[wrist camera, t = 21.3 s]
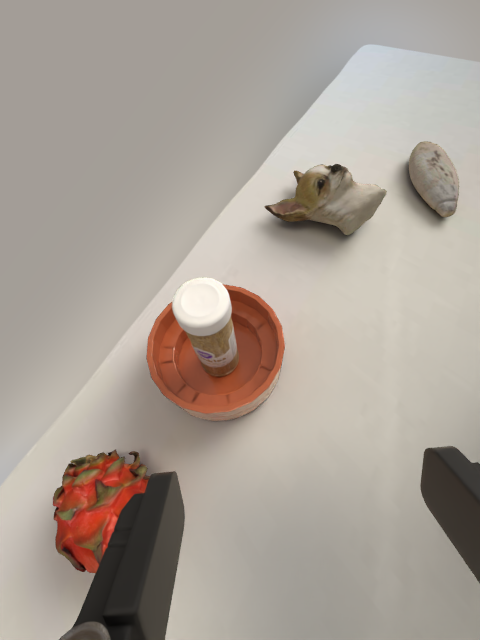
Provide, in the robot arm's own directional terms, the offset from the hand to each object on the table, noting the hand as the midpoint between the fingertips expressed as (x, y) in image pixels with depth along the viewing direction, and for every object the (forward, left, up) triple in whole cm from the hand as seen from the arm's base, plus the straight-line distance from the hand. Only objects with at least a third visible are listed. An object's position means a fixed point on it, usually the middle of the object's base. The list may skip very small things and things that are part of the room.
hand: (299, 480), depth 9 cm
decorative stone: (-47, -14, -22) cm, 53 cm away
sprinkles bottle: (-3, -13, -22) cm, 25 cm away
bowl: (-4, -13, -22) cm, 26 cm away
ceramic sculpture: (-30, -21, -22) cm, 42 cm away
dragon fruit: (+12, -7, -22) cm, 26 cm away
